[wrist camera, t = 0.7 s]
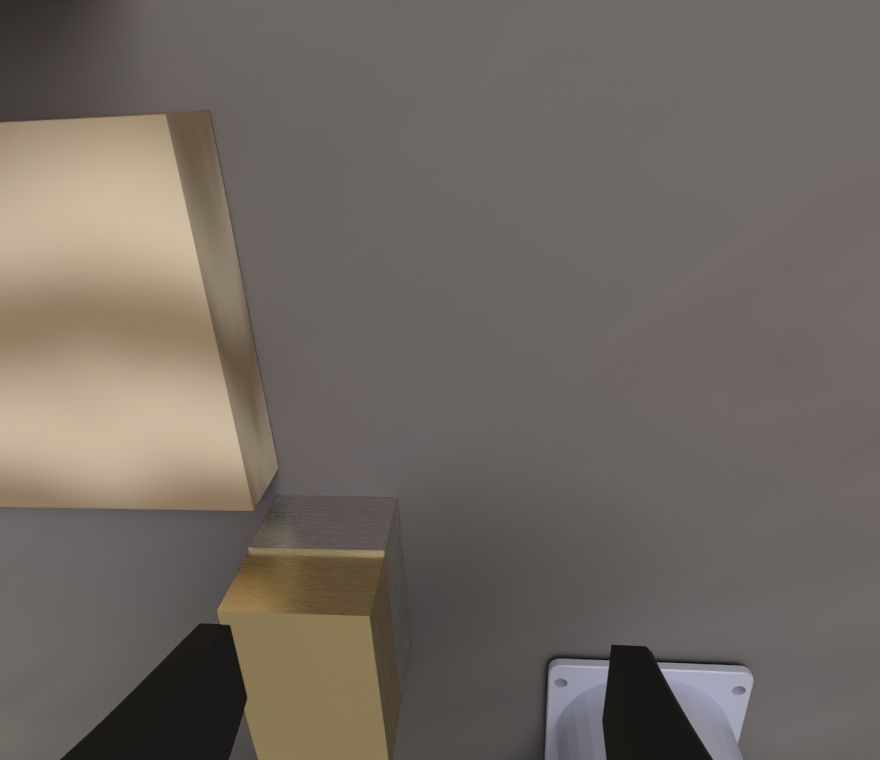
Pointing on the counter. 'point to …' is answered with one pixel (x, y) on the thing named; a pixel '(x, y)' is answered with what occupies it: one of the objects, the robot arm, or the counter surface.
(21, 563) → the counter surface
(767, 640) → the counter surface
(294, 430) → the counter surface
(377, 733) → the block
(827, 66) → the counter surface
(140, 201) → the stand
